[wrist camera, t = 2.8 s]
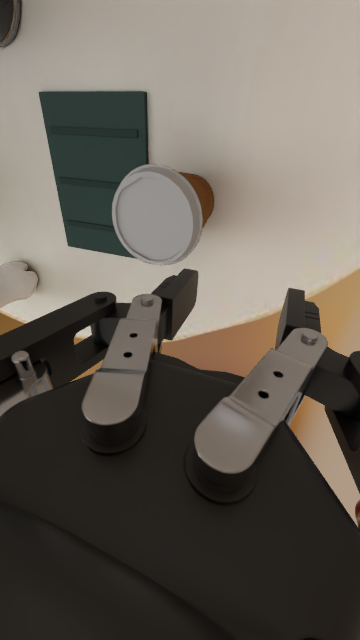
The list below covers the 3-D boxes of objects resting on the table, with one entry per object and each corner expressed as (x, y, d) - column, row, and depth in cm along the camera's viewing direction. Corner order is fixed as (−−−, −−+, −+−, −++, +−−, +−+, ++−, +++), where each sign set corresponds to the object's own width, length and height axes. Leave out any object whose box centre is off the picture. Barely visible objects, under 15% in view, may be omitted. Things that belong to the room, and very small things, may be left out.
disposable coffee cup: (231, 160, 32) (201, 167, 22) (222, 242, 37) (195, 276, 27) (156, 157, 34) (101, 162, 25) (158, 233, 40) (113, 262, 30)
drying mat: (70, 245, 46) (66, 246, 46) (41, 92, 35) (36, 91, 35) (150, 259, 42) (147, 261, 41) (146, 92, 31) (143, 91, 30)
